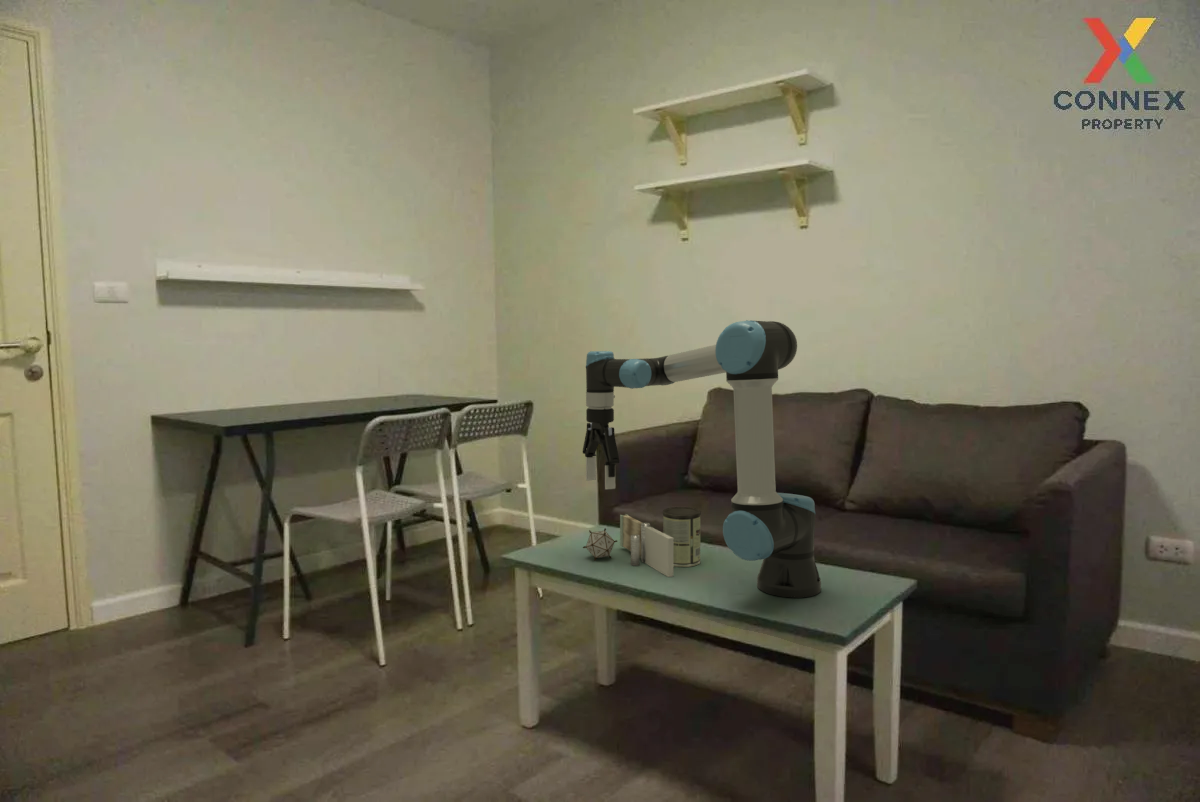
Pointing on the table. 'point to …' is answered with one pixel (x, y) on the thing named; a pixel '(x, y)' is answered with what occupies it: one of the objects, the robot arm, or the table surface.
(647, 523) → the gate post
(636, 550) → the peg
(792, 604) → the table surface
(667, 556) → the light grey flat panel
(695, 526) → the coffee can
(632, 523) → the gate
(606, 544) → the game die
